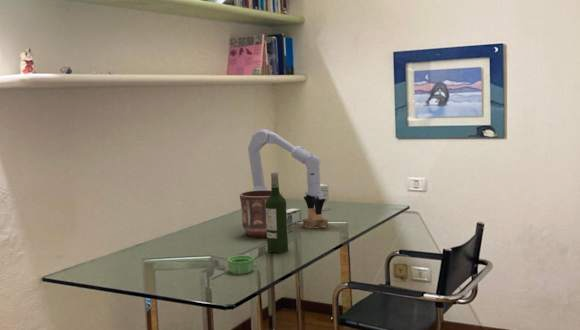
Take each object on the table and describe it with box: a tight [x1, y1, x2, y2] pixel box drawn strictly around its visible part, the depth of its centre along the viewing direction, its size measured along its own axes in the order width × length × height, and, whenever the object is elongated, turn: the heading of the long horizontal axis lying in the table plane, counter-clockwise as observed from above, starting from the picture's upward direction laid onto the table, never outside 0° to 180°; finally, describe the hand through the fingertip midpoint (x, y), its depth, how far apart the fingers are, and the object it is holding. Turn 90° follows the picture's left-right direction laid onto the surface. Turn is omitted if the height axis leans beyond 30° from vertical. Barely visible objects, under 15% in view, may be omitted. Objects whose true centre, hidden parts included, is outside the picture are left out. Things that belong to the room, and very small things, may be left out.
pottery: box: [239, 189, 283, 239], centre depth 262 cm, size 18×18×18 cm
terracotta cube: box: [307, 207, 323, 221], centre depth 275 cm, size 4×4×5 cm
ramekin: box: [227, 254, 255, 275], centre depth 210 cm, size 9×9×4 cm
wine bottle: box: [265, 172, 289, 254], centre depth 233 cm, size 8×8×30 cm
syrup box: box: [286, 208, 303, 226], centre depth 284 cm, size 6×6×14 cm
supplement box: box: [314, 183, 330, 211], centre depth 315 cm, size 7×7×13 cm
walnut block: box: [302, 217, 329, 228], centre depth 275 cm, size 8×8×4 cm
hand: (314, 212), depth 275 cm, fingers open, 7 cm apart
